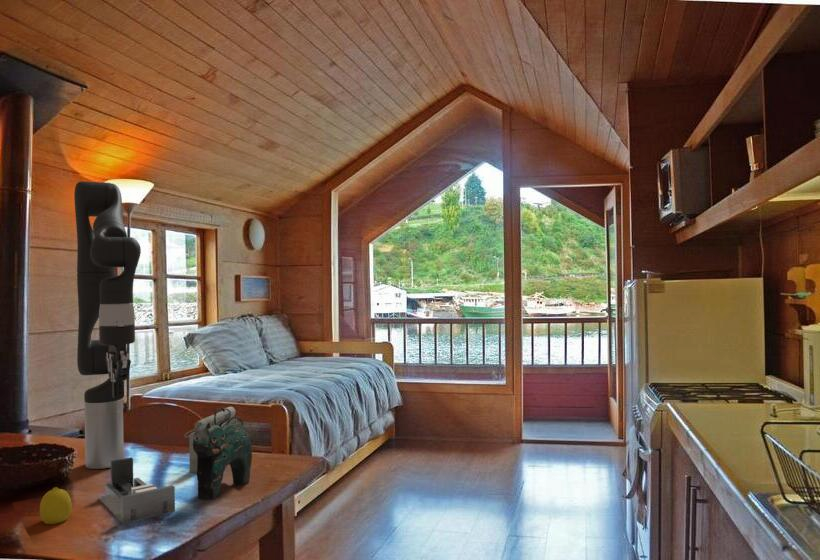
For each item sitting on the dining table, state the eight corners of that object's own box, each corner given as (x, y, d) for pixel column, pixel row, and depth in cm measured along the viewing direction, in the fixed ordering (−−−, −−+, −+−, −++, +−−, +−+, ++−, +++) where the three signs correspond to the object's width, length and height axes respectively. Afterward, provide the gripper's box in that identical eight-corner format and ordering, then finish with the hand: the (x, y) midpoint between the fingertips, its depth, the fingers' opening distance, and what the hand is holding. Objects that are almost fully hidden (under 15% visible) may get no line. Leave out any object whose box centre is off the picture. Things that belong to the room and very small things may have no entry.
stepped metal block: (111, 492, 141) (110, 461, 141) (131, 488, 144) (131, 457, 144) (122, 503, 134) (121, 470, 134) (144, 498, 137) (143, 466, 137)
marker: (131, 512, 129) (130, 487, 129) (152, 507, 132) (151, 483, 132) (137, 517, 126) (136, 492, 126) (158, 512, 129) (157, 487, 129)
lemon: (48, 523, 128) (47, 483, 128) (76, 521, 129) (76, 482, 129) (34, 534, 123) (33, 492, 123) (64, 532, 123) (63, 491, 123)
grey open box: (97, 504, 139) (97, 474, 139) (145, 493, 145) (144, 465, 145) (123, 531, 123) (122, 497, 123) (175, 518, 130) (174, 486, 130)
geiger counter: (203, 422, 156) (249, 402, 180) (179, 421, 157) (228, 401, 181) (204, 479, 156) (249, 451, 180) (180, 477, 157) (229, 450, 181)
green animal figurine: (212, 509, 134) (211, 415, 134) (185, 507, 136) (184, 414, 136) (257, 480, 154) (256, 397, 154) (233, 479, 155) (231, 397, 155)
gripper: (92, 322, 150) (94, 396, 150) (106, 325, 139) (108, 404, 140) (126, 320, 154) (127, 392, 155) (142, 323, 144) (143, 400, 144)
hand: (118, 397), depth 147 cm, fingers closed
